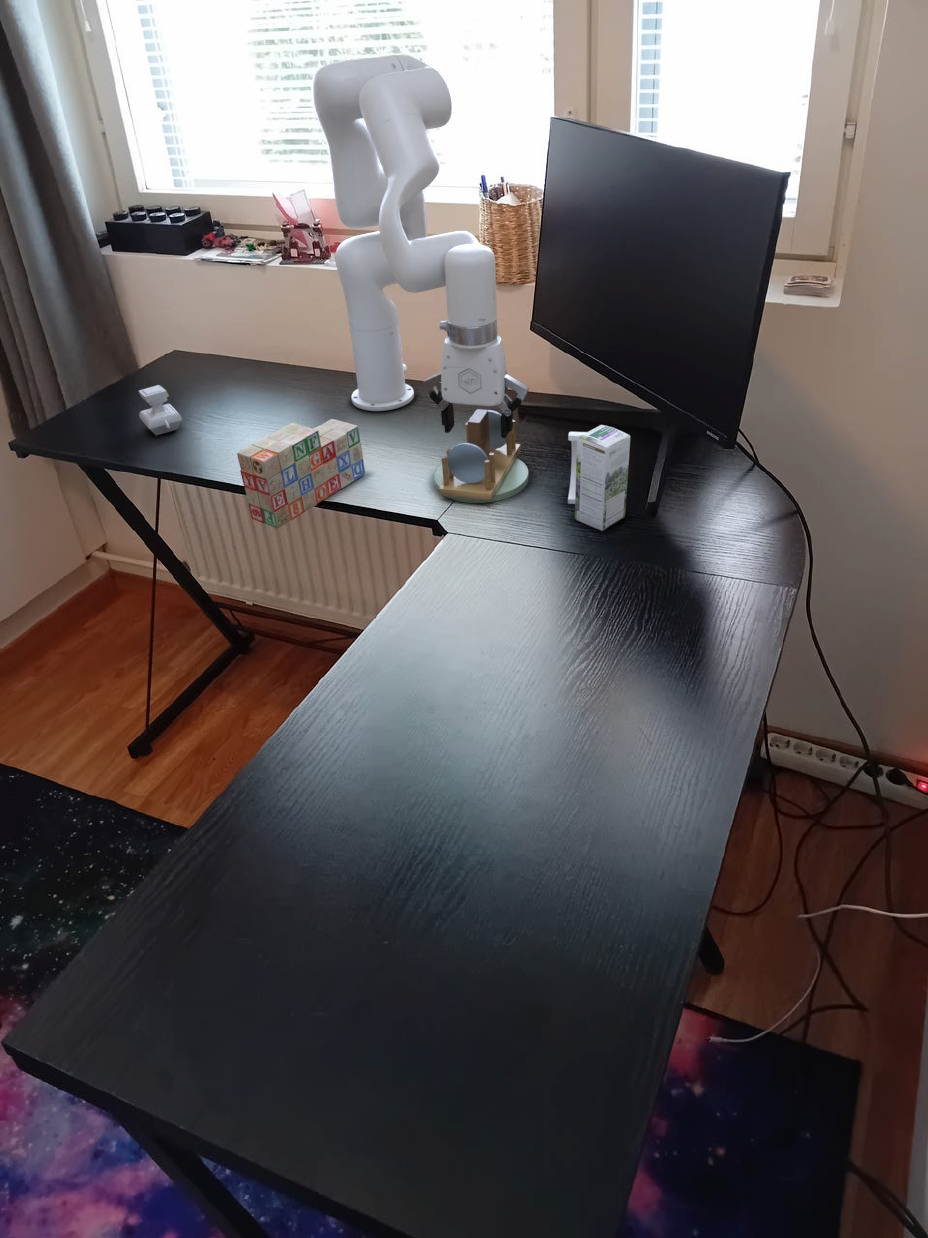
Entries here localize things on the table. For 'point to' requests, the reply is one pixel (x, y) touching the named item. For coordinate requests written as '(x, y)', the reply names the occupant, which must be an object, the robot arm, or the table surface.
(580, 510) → the syrup box
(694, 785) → the table surface
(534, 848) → the table surface
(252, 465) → the stack of blocks
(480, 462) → the plate rack
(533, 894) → the table surface
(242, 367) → the table surface
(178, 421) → the stamp
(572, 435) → the white curved piece
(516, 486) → the turntable
